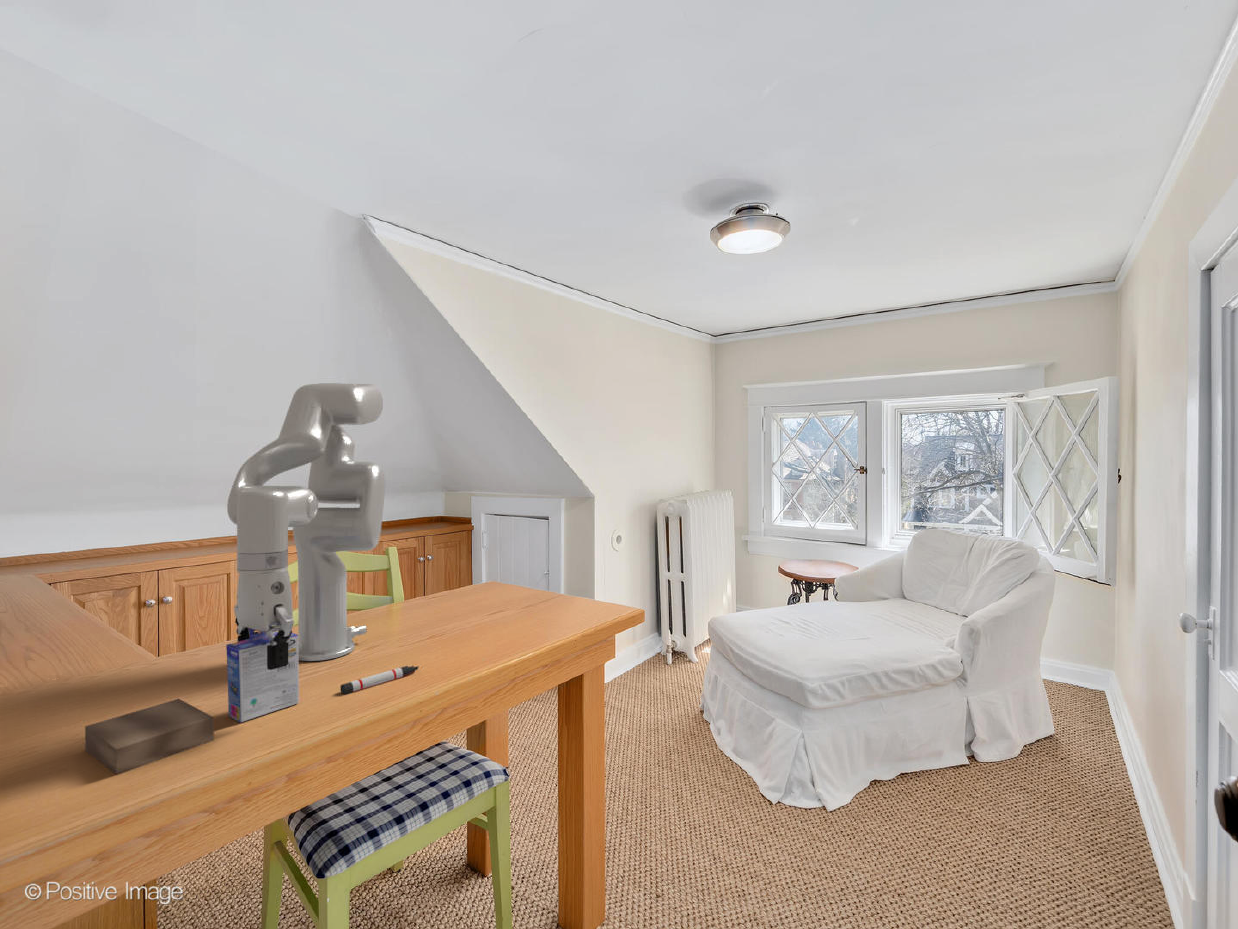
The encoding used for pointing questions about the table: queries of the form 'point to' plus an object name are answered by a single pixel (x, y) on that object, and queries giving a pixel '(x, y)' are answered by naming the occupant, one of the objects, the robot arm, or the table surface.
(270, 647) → the robot arm
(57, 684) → the table surface
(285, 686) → the ink cartridge box
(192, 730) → the walnut block
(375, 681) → the marker
